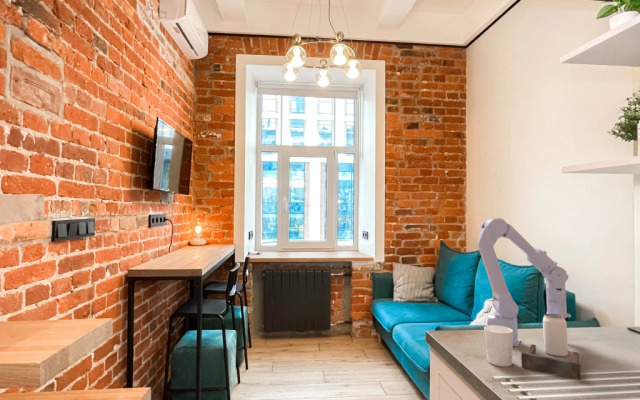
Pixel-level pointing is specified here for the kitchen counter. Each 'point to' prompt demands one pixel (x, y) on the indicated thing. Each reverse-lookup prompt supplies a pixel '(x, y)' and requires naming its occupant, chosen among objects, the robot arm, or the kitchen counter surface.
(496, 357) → the white cup
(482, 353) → the kitchen counter surface
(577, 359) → the bay
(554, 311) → the robot arm
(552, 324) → the can
